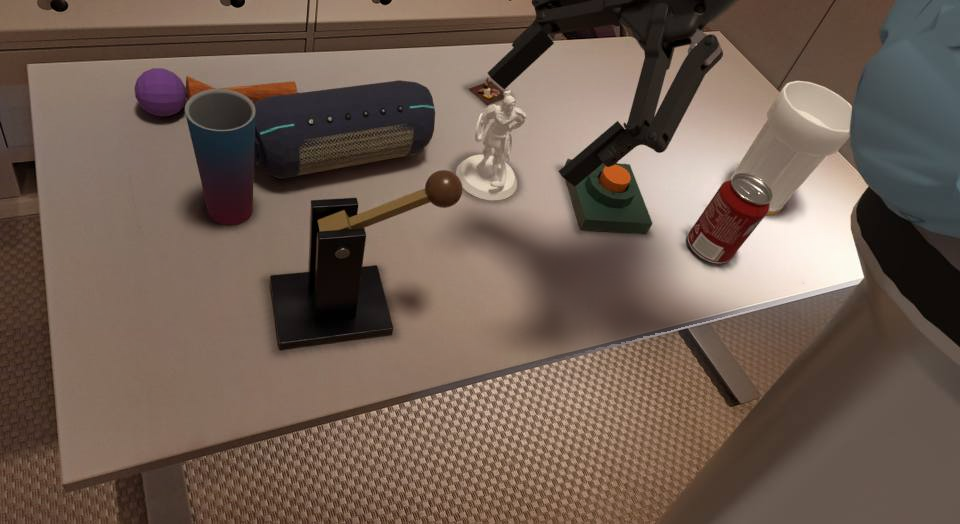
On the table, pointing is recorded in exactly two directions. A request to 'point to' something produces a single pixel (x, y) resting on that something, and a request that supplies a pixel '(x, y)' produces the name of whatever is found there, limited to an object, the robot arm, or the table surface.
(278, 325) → the switch bracket
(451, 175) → the switch lever
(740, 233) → the soda can
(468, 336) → the table surface
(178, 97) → the kendama
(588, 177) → the button box
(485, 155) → the figurine
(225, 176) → the cup
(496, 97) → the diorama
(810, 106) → the cup
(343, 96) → the portable speaker
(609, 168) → the button
